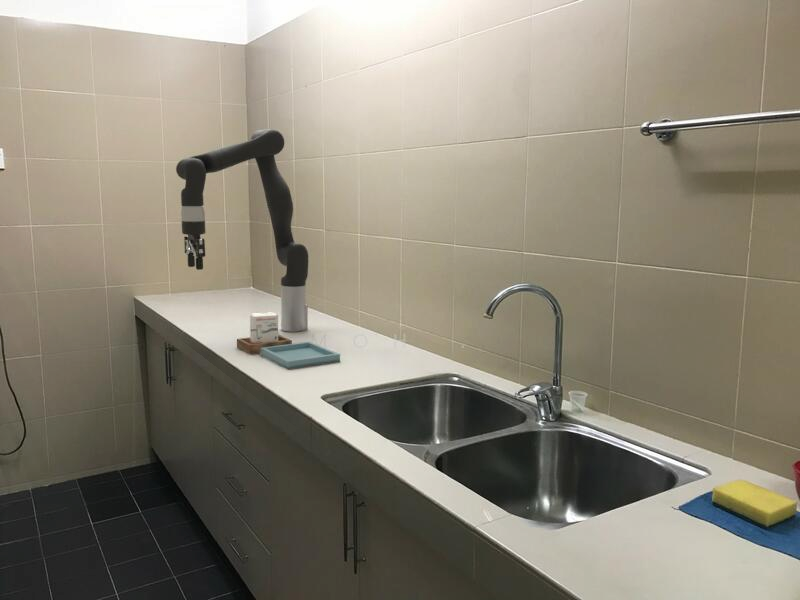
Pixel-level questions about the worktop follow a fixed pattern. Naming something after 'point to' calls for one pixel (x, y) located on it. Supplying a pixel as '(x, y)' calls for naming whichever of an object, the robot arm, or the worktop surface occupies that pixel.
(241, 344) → the holder
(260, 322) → the ink box
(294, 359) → the tray
